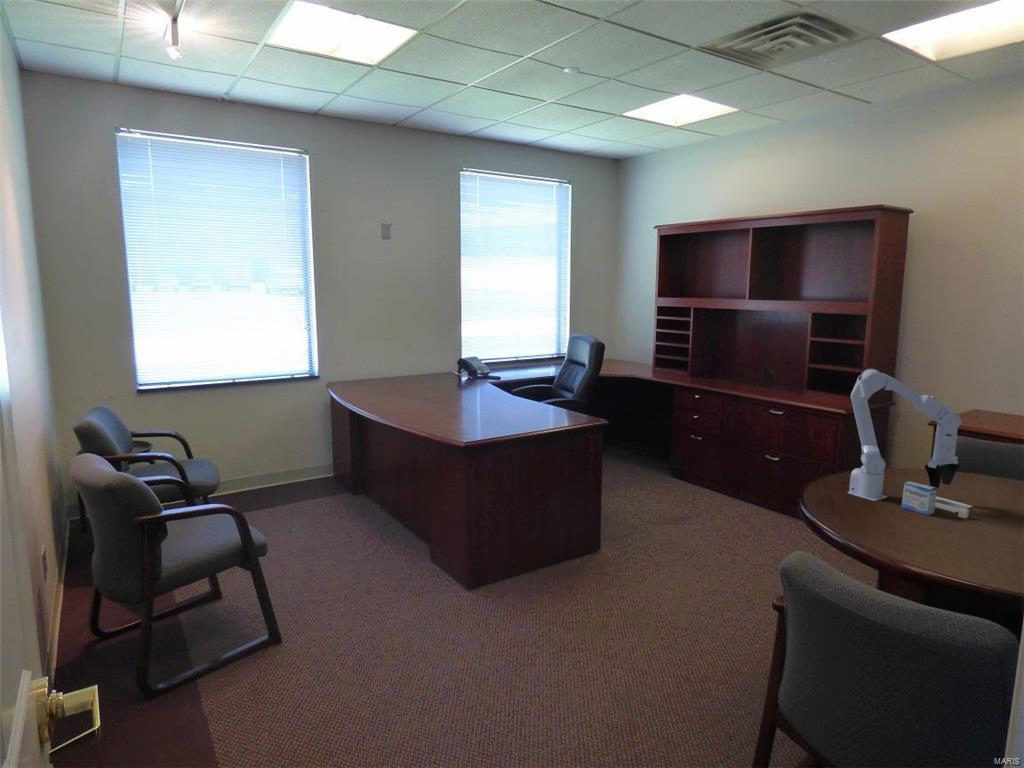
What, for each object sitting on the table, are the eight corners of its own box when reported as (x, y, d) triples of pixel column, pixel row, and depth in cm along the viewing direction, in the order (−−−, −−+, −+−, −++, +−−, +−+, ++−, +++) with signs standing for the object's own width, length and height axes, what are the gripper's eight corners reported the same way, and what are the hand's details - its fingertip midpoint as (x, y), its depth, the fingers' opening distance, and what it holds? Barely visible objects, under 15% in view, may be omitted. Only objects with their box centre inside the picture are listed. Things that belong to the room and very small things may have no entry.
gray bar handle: (904, 501, 203) (904, 494, 203) (907, 500, 204) (907, 493, 204) (965, 518, 187) (966, 510, 187) (968, 517, 188) (969, 509, 188)
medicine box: (900, 508, 196) (903, 482, 195) (908, 505, 199) (910, 480, 197) (927, 515, 190) (930, 489, 188) (934, 513, 192) (937, 487, 191)
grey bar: (905, 494, 203) (905, 491, 203) (907, 493, 203) (907, 490, 203) (966, 510, 187) (967, 507, 187) (968, 510, 188) (968, 506, 188)
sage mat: (908, 500, 204) (908, 499, 204) (926, 494, 210) (926, 493, 210) (954, 513, 192) (954, 512, 192) (972, 506, 198) (972, 505, 198)
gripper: (947, 451, 191) (942, 492, 193) (969, 446, 198) (964, 485, 200) (923, 446, 197) (918, 486, 199) (945, 441, 204) (941, 480, 206)
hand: (940, 485), depth 200 cm, fingers open, 7 cm apart
